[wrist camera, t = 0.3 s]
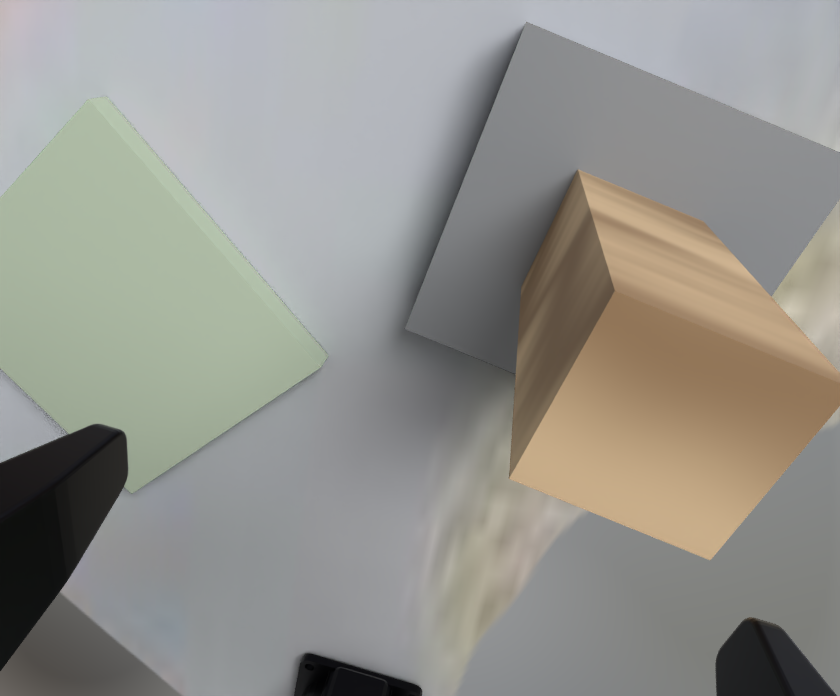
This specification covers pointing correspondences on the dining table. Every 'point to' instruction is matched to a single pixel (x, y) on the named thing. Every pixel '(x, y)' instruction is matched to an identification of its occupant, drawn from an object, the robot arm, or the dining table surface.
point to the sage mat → (135, 300)
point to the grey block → (618, 164)
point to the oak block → (657, 372)
